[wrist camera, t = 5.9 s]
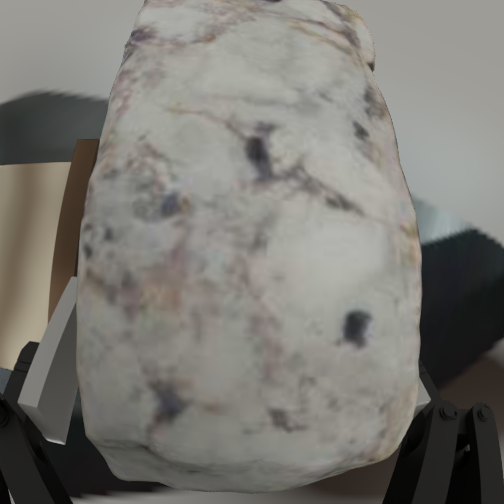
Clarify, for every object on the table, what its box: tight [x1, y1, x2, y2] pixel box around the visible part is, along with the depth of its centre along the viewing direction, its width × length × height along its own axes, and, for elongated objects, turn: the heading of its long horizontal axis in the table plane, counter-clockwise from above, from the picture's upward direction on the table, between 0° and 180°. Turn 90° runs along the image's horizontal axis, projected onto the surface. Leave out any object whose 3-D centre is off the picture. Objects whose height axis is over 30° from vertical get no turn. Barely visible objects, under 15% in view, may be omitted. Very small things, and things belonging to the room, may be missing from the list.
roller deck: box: [0, 139, 100, 390], centre depth 18 cm, size 14×15×8 cm
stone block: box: [76, 0, 422, 493], centre depth 15 cm, size 13×7×20 cm, turn 6°
